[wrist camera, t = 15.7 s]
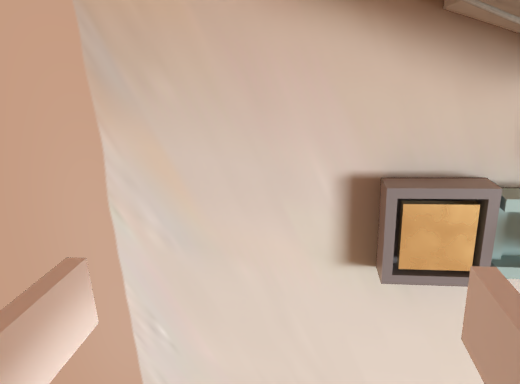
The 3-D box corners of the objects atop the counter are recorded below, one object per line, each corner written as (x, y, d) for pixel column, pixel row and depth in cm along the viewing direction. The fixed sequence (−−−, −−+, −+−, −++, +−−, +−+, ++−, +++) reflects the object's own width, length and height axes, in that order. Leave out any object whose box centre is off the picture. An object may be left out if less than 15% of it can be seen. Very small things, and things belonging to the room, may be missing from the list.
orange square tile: (401, 200, 39) (403, 204, 38) (476, 201, 38) (480, 204, 38) (396, 264, 41) (398, 268, 41) (467, 266, 41) (471, 271, 40)
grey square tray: (381, 177, 41) (387, 188, 38) (486, 178, 40) (502, 188, 37) (376, 266, 44) (381, 283, 41) (474, 269, 43) (487, 287, 40)
